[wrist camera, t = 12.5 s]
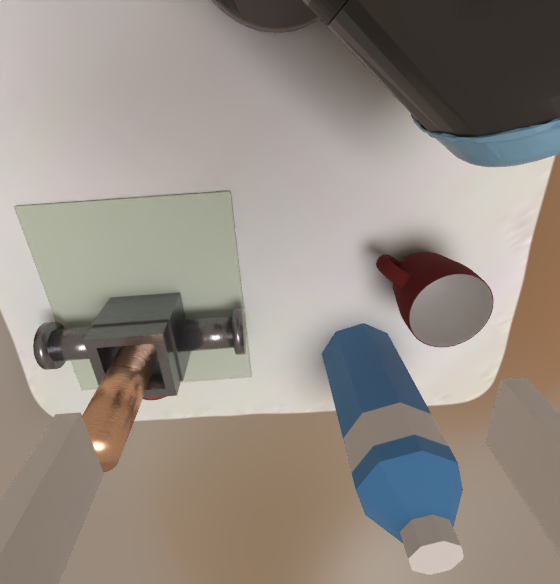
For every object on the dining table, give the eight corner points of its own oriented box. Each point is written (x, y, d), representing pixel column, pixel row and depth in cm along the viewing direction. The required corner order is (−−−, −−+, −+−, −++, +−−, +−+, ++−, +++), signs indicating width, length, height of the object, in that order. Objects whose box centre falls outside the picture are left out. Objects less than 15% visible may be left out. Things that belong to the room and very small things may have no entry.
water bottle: (366, 309, 48) (461, 498, 25) (407, 355, 51) (523, 557, 29) (307, 353, 50) (346, 559, 28) (350, 393, 53) (416, 607, 31)
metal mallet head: (49, 301, 44) (6, 344, 37) (241, 287, 45) (237, 326, 37) (76, 376, 49) (43, 427, 42) (249, 363, 50) (248, 411, 42)
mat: (16, 205, 40) (13, 206, 40) (230, 191, 40) (230, 191, 40) (83, 388, 51) (81, 390, 50) (251, 375, 51) (251, 377, 51)
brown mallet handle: (115, 339, 40) (57, 438, 29) (154, 336, 40) (111, 433, 29) (124, 370, 42) (73, 475, 30) (161, 367, 42) (124, 470, 30)
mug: (348, 281, 46) (369, 326, 37) (380, 219, 42) (412, 251, 34) (424, 308, 48) (463, 357, 39) (460, 250, 45) (511, 289, 36)
